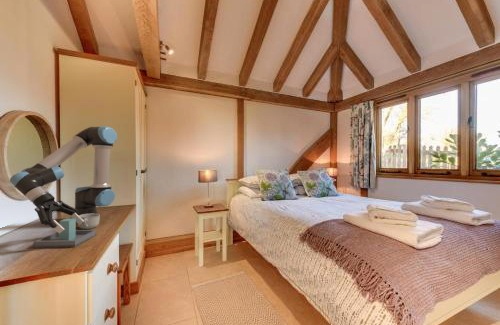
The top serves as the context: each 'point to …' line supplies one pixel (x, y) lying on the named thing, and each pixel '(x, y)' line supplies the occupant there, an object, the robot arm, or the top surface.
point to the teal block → (68, 229)
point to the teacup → (89, 221)
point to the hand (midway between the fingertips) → (72, 226)
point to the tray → (54, 241)
